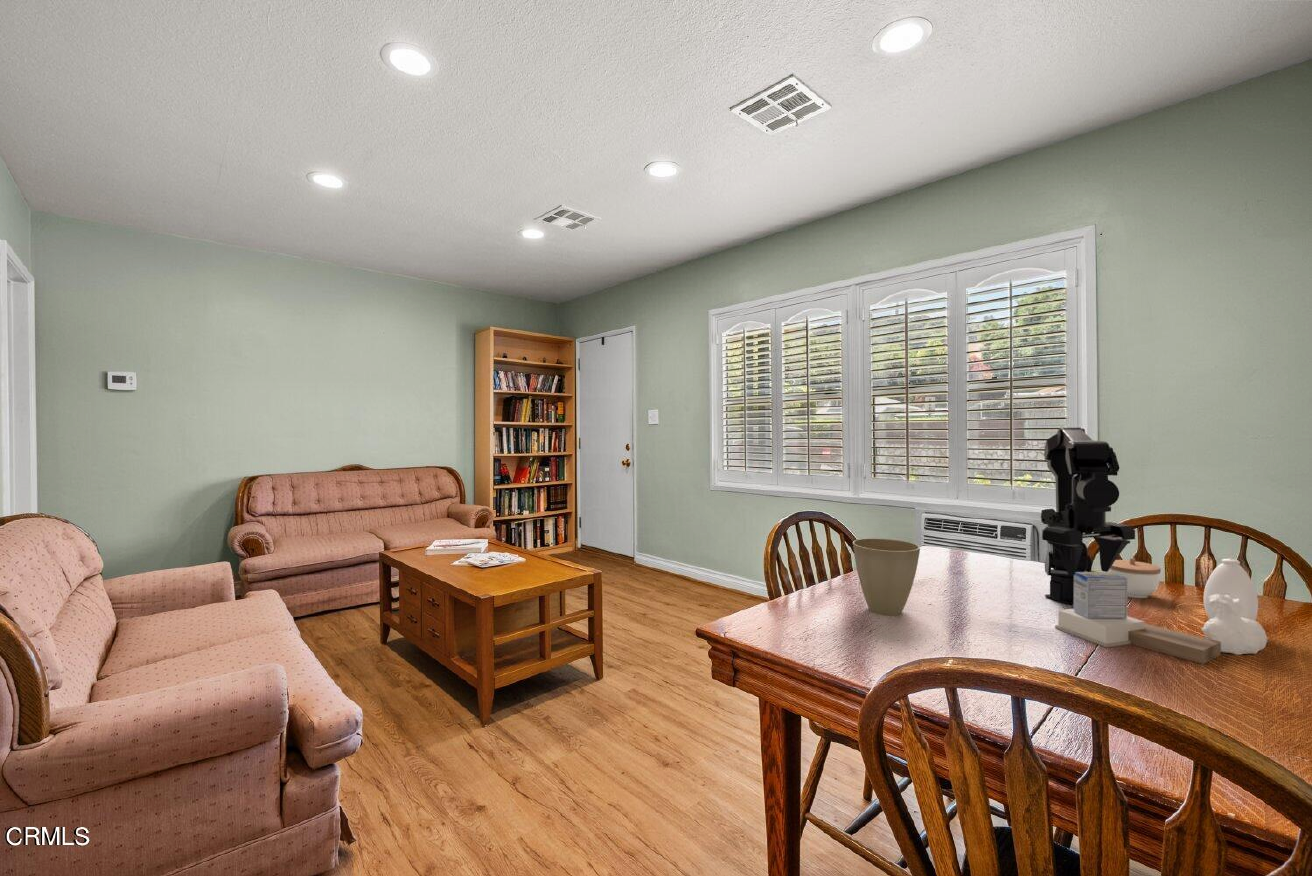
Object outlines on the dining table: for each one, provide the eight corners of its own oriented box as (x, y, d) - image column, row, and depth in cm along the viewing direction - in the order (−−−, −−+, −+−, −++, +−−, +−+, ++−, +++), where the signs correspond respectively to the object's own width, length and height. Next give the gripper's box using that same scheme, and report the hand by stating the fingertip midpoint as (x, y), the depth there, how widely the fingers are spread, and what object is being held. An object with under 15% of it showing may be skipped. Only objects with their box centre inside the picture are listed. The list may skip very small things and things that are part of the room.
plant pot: (911, 626, 122) (911, 554, 122) (844, 613, 131) (844, 545, 131) (926, 608, 134) (926, 542, 134) (863, 597, 143) (863, 535, 143)
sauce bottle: (1241, 641, 112) (1241, 552, 111) (1194, 628, 119) (1195, 544, 119) (1267, 637, 114) (1268, 549, 114) (1219, 624, 121) (1220, 542, 121)
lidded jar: (1096, 592, 145) (1096, 556, 145) (1119, 586, 150) (1119, 552, 150) (1146, 603, 136) (1146, 565, 135) (1169, 597, 140) (1169, 560, 140)
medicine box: (1111, 612, 118) (1112, 571, 118) (1128, 619, 114) (1128, 577, 113) (1072, 611, 119) (1072, 571, 118) (1087, 619, 114) (1087, 577, 114)
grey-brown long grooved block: (1141, 634, 116) (1141, 622, 116) (1220, 655, 105) (1220, 642, 105) (1123, 642, 112) (1123, 629, 112) (1203, 664, 102) (1203, 650, 102)
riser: (1094, 623, 123) (1094, 605, 123) (1148, 641, 112) (1148, 622, 112) (1055, 628, 120) (1055, 609, 120) (1106, 647, 110) (1106, 627, 110)
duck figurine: (1256, 658, 109) (1218, 602, 116) (1295, 646, 103) (1252, 588, 110) (1202, 661, 108) (1166, 604, 115) (1238, 650, 102) (1198, 590, 109)
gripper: (1085, 493, 128) (1084, 560, 129) (1019, 497, 124) (1019, 567, 124) (1137, 500, 118) (1136, 573, 118) (1068, 505, 113) (1067, 581, 113)
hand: (1087, 573), depth 119 cm, fingers open, 9 cm apart
